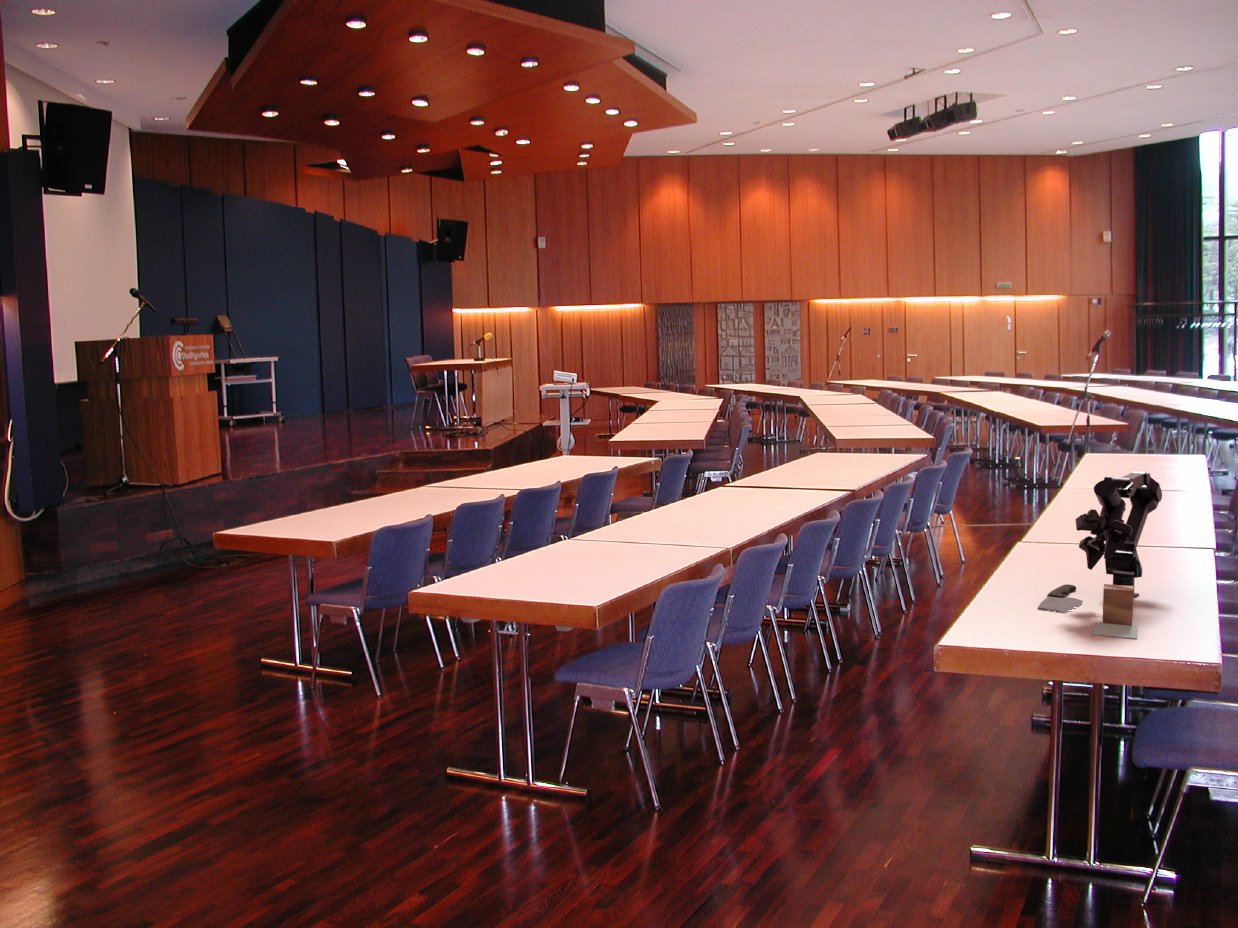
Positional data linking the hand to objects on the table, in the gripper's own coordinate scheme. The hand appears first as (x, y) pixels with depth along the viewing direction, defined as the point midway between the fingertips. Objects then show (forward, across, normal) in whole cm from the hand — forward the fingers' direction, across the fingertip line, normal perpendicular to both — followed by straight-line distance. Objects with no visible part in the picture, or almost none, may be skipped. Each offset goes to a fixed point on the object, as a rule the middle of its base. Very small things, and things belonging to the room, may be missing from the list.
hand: (1097, 564), depth 287 cm
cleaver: (+6, -18, 0) cm, 19 cm away
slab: (+16, +4, +7) cm, 18 cm away
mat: (+21, +11, +5) cm, 24 cm away
